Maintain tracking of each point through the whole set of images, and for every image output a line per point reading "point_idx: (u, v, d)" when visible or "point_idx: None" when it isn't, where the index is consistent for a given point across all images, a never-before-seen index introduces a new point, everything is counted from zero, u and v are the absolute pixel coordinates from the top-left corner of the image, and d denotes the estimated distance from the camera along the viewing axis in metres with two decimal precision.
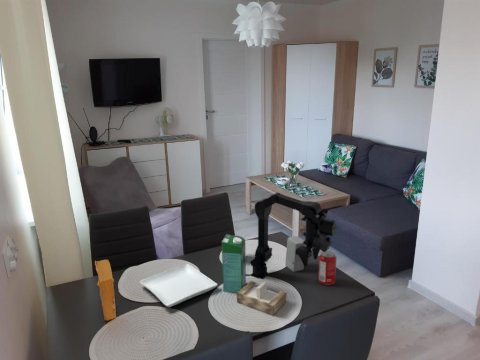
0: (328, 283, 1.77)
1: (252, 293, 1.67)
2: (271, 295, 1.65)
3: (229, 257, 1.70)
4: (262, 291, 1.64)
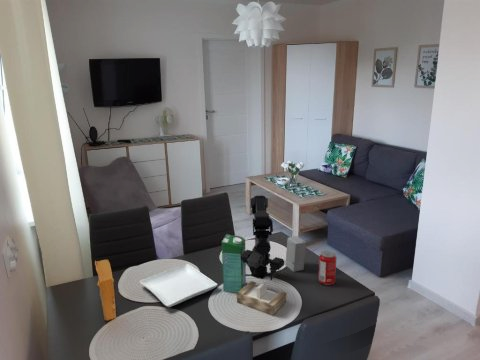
0: (328, 283, 1.77)
1: (252, 293, 1.67)
2: (271, 295, 1.65)
3: (229, 257, 1.70)
4: (262, 291, 1.64)
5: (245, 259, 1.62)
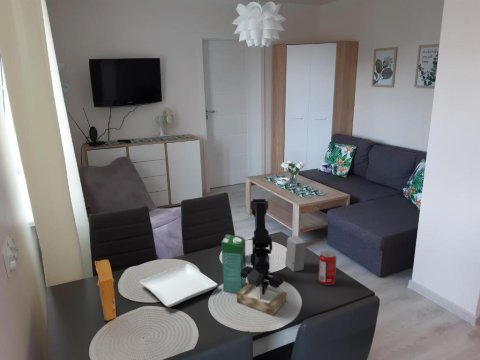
0: (328, 283, 1.77)
1: (252, 293, 1.67)
2: (271, 295, 1.65)
3: (229, 257, 1.70)
4: None
5: (245, 276, 1.64)
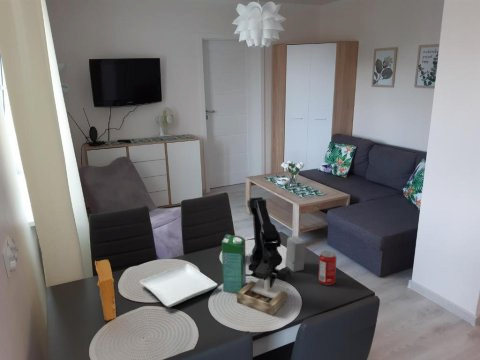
0: (328, 283, 1.77)
1: (259, 286, 1.72)
2: (278, 288, 1.70)
3: (229, 257, 1.70)
4: (269, 284, 1.69)
5: (253, 269, 1.69)
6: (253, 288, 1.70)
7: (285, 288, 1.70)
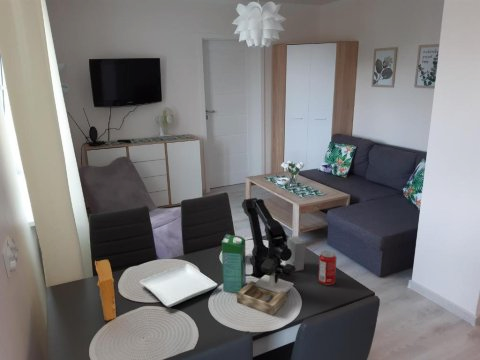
0: (328, 283, 1.77)
1: (264, 281, 1.76)
2: (283, 283, 1.74)
3: (229, 257, 1.70)
4: None
5: (258, 265, 1.73)
6: (258, 283, 1.74)
7: (290, 284, 1.74)
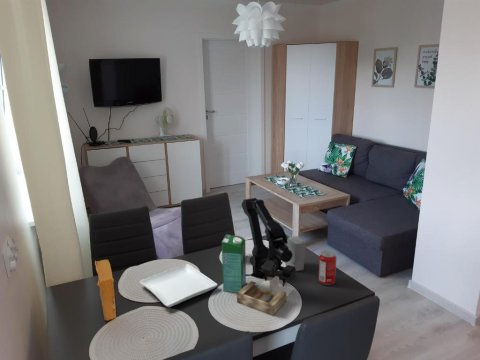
0: (328, 283, 1.77)
1: (265, 287, 1.77)
2: (283, 289, 1.75)
3: (229, 257, 1.70)
4: (275, 285, 1.74)
5: (259, 266, 1.74)
6: None
7: (290, 289, 1.75)
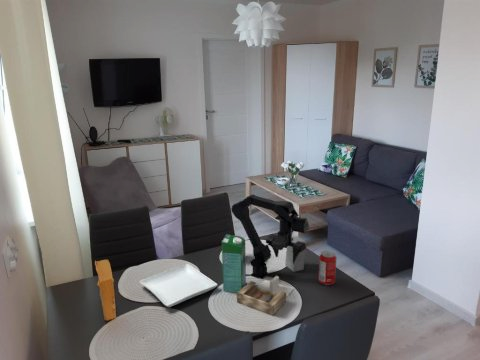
0: (328, 283, 1.77)
1: (265, 287, 1.77)
2: (283, 289, 1.75)
3: (229, 257, 1.70)
4: (275, 285, 1.74)
5: (270, 242, 1.78)
6: None
7: (290, 289, 1.75)
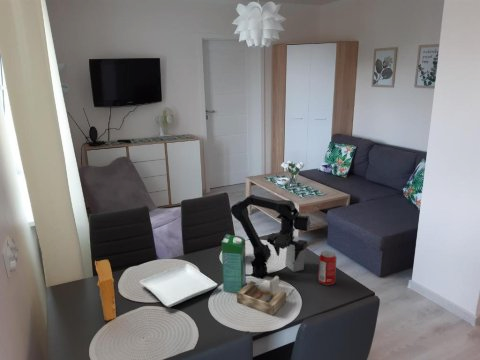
0: (328, 283, 1.77)
1: (265, 287, 1.77)
2: (283, 289, 1.75)
3: (229, 257, 1.70)
4: (275, 285, 1.74)
5: (271, 241, 1.79)
6: None
7: (290, 289, 1.75)
